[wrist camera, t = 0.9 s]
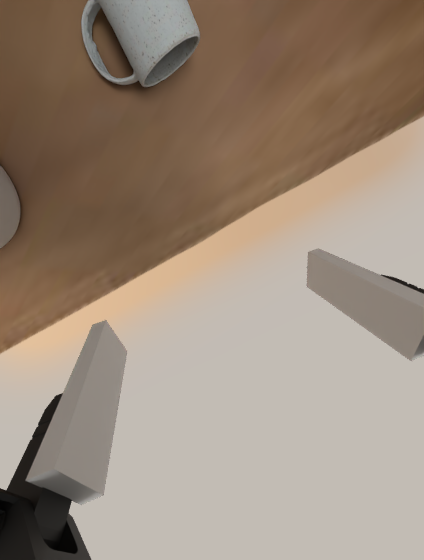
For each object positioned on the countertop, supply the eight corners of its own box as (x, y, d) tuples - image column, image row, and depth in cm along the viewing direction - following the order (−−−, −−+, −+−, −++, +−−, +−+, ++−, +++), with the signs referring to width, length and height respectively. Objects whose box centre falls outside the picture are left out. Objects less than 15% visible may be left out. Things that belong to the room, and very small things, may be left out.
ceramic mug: (146, -50, 19) (152, -150, 13) (191, 59, 24) (211, 24, 18) (62, 17, 19) (28, -51, 13) (123, 111, 24) (120, 94, 18)
